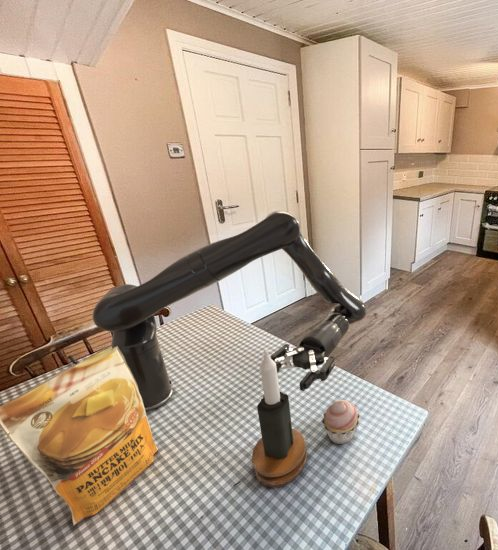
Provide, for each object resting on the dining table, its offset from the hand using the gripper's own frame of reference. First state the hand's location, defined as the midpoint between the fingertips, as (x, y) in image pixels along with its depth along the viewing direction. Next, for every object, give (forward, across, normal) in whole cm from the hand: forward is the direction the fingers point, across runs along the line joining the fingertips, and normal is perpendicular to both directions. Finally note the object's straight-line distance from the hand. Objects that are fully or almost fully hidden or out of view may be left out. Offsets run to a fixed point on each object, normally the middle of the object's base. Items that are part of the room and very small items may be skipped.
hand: (283, 382), depth 63 cm
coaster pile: (+4, 0, +19) cm, 19 cm away
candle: (+4, 0, +15) cm, 15 cm away
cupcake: (-8, +9, +19) cm, 23 cm away
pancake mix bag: (+20, -29, +19) cm, 40 cm away
